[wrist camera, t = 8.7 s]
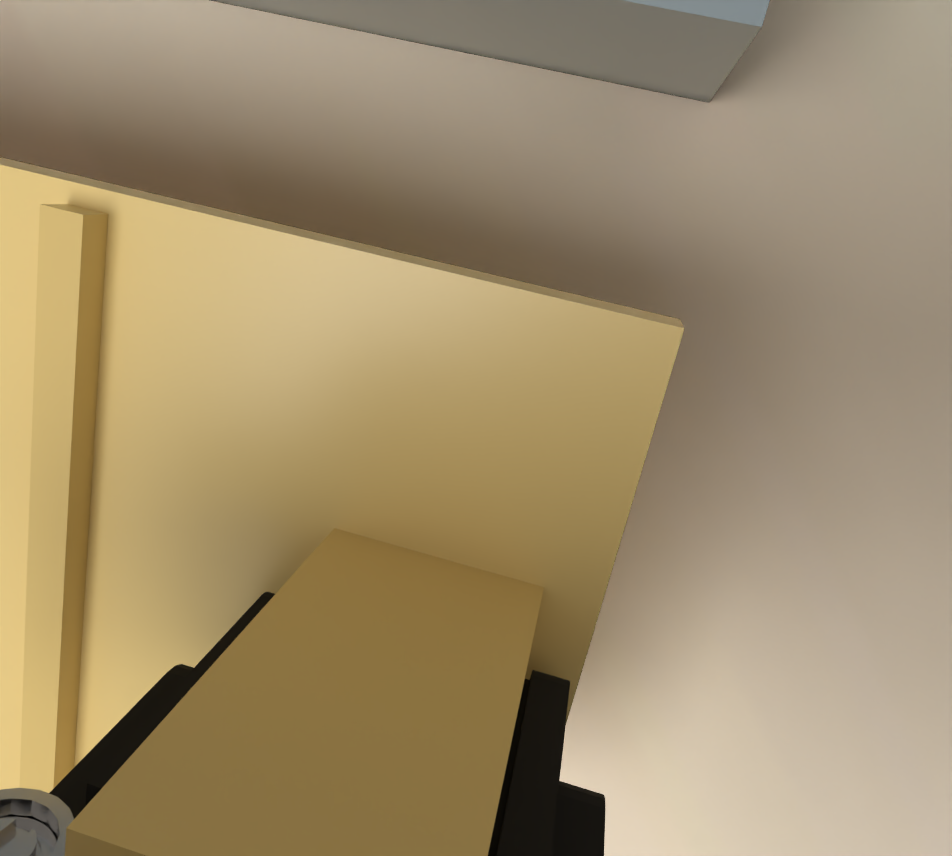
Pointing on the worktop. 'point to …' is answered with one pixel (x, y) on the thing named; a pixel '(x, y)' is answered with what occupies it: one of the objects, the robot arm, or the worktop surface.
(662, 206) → the worktop surface
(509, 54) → the tub
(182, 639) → the lid
